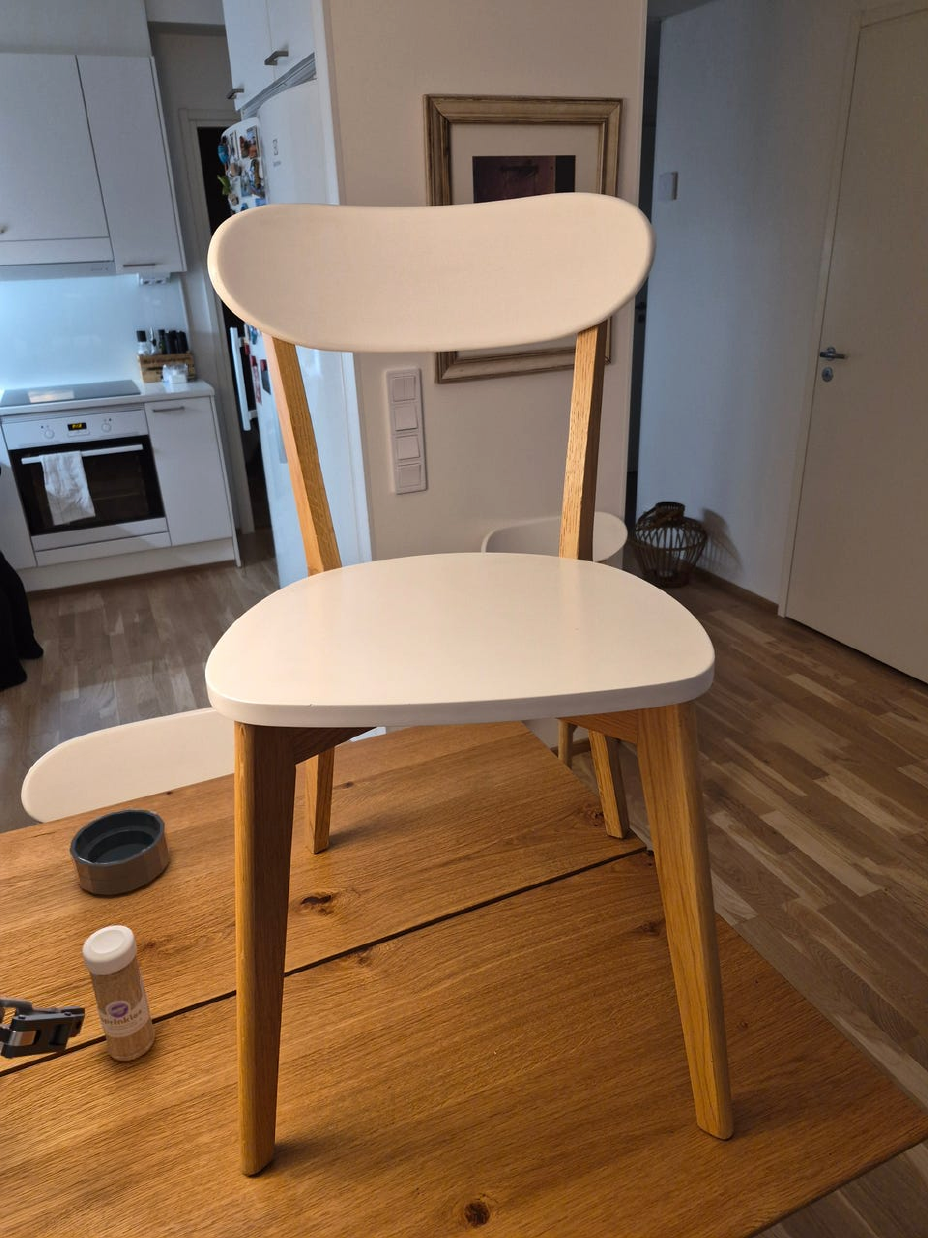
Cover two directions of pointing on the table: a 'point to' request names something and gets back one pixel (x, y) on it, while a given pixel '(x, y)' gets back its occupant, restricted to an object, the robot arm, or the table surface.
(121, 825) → the bowl
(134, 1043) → the sprinkles bottle
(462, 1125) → the table surface
